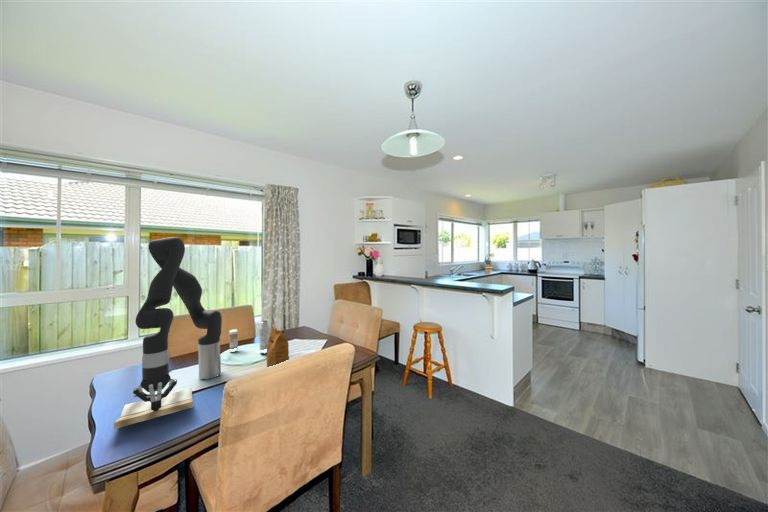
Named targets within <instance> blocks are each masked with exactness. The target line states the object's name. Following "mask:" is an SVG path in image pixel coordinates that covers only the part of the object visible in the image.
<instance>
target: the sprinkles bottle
mask: <svg viewBox="0 0 768 512" xmlns="http://www.w3.org/2000/svg"><path fill="white" fill-rule="evenodd" d="M238 331H239V330H238V329H231V330H229V333H228V334H229V350H230V349H234V348H237V349H238V341H239V340H238V333H239V332H238Z"/></svg>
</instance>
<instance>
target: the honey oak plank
mask: <svg viewBox="0 0 768 512" xmlns="http://www.w3.org/2000/svg"><path fill="white" fill-rule="evenodd" d="M192 408H194V400H193V398H192V399H190V400H186V401H182V402H178V403H174V404H171V405H167V406H163V407H161V408H160V409H159V410H158V411H154V410H148V411H144V412H140V413H136V414H133V415H129V416H125V417H121V416H120V417H121V418H120V417H119V418H118V419H117V420H115V421H114V422H113V430H116V429H120V428H122V427H127V426H129V425H134V424H137V423H142V422H145V421H148V420H149V421H150V420H152V419H156V418H158V417H163V416H165V415H167V416H168V415H169V414H174V413H176V412H181V411H184V410H187V409H192Z"/></svg>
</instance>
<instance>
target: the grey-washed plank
mask: <svg viewBox="0 0 768 512" xmlns="http://www.w3.org/2000/svg"><path fill="white" fill-rule="evenodd" d="M192 391H193V390H192V388H189V389H188V388H187V389H185V390H180V391H179V390H178V391H176V392H172V393H171V392H170V393H169V394H168V395H167V396H166V397H164V398H162V399H161V407H163V406H167V405H171V404H174V403H178V402H182V401H186V400H190V399H193V392H192ZM155 397H156V399H157V396H155ZM148 410H151V402H150V401H147V402H144V401H143V400H140V401H134V402H131V403H126V404H124V406H123V408H122V411H121V413H120V417H119V418H121V417H125V416H129V415H133V414H136V413H140V412H144V411H148Z"/></svg>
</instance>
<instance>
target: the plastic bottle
mask: <svg viewBox="0 0 768 512" xmlns="http://www.w3.org/2000/svg"><path fill="white" fill-rule="evenodd" d="M258 333H259V349H260V350H264V349H267V346H268V340H269V337H270V335H271V327H270V326H269V321H268V320H262V321H261V323H260V327H259V329H258Z"/></svg>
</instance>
